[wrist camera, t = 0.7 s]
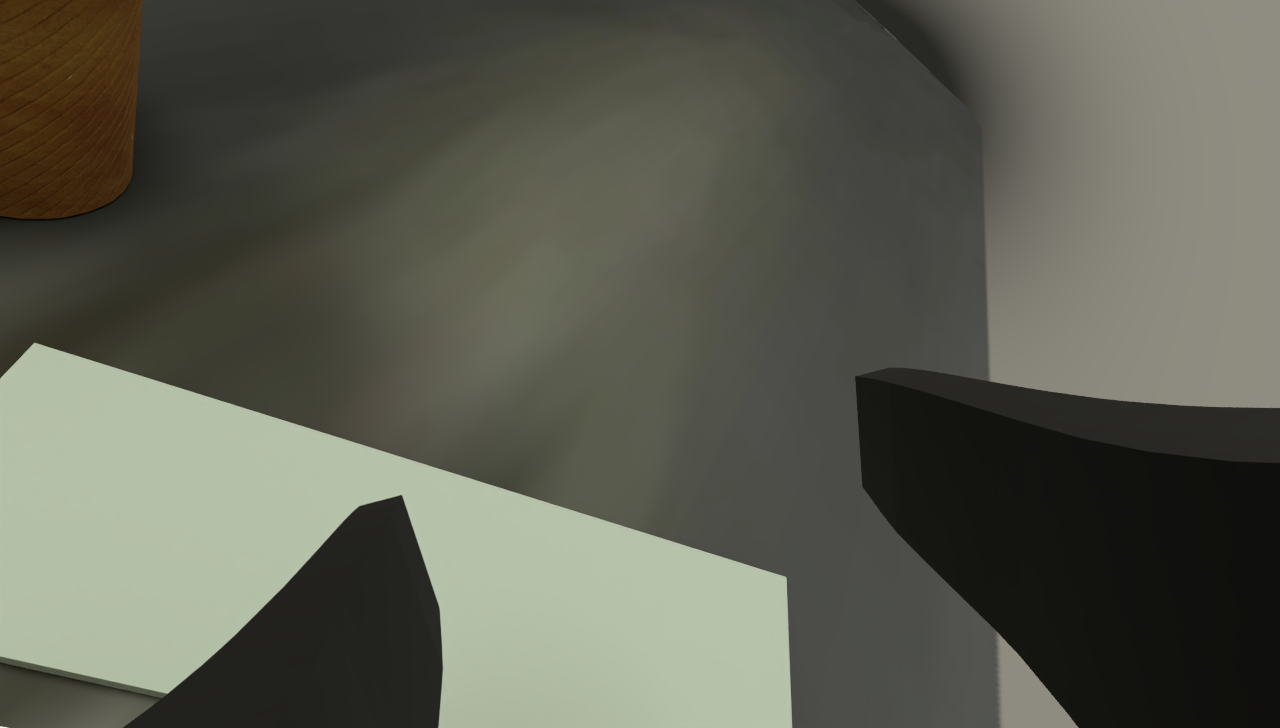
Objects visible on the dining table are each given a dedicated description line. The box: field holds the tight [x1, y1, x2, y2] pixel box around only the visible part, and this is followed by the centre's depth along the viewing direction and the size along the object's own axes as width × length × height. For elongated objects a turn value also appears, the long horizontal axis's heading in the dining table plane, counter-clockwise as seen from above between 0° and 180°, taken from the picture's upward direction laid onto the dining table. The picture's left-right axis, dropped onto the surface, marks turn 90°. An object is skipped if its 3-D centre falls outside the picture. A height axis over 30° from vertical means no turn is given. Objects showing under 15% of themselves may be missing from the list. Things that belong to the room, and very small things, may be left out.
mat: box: [0, 343, 792, 728], centre depth 24 cm, size 9×28×1 cm, turn 84°
